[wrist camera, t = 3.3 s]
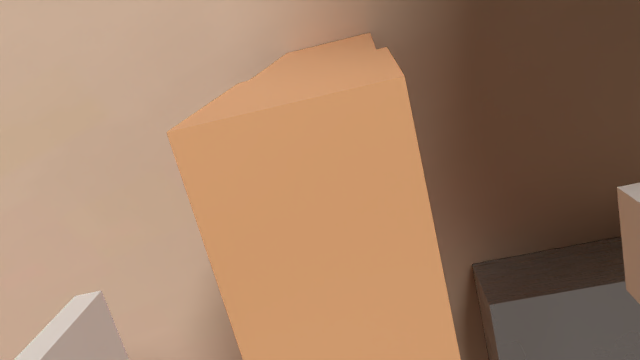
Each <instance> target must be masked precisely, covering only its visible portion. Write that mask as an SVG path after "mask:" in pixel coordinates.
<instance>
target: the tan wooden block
mask: <svg viewBox="0 0 640 360" xmlns="http://www.w3.org/2000/svg"><path fill="white" fill-rule="evenodd" d="M167 135H168V138H169V141H170V144H171V147H172V150H173V153H174V156H175V159H176V162H177V165H178V168H179V171H180V174H181V177H182V180H183V183H184V186H185V189H186V192H187V195H188V198H189V201H190V204H191V207H192V210H193V213H194V216H195V219H196V222H197V225H198V228H199V231H200V234H201V237H202V240H203V243H204V246H205V248H206V251H207V254H208V257H209V260H210V263H211V266H212V269H213V272H214V275H215V278H216V281H217V284H218V287H219V290H220V293H221V296H222V299H223V302H224V305H225V308H226V311H227V314H228V317H229V320H230V323H231V326H232V329H233V332H234V335H235V338H236V341H237V344H238V347H239V350H240V353H241V356H242V359H243V360H461V358H460V353H459V348H458V343H457V338H456V333H455V328H454V323H453V318H452V313H451V308H450V303H449V298H448V293H447V288H446V283H445V278H444V273H443V268H442V263H441V258H440V252H439V247H438V242H437V237H436V232H435V227H434V222H433V217H432V212H431V207H430V202H429V197H428V192H427V187H426V182H425V177H424V172H423V167H422V162H421V157H420V152H419V146H418V141H417V136H416V131H415V126H414V121H413V116H412V111H411V106H410V101H409V96H408V91H407V86H406V81H405V76H404V74H403V73H402V71H401V69H400V68H399V66H398V64H397V63H396V61H395V59H394V58H393V56H392V54H391V53H390V51H389V50H388V48H387V47H385V48H380V49H376V48H375V45H374V42H373V40H372V37H371V34H370V33H366V34H362V35H358V36H354V37H350V38H346V39H342V40H338V41H334V42H330V43H326V44H322V45H318V46H314V47H310V48H306V49H302V50H298V51H294V52H290V53H286V54H285V55H284V56H282V57H281V58H280V59H278V60H277V61H275V62H274V63H273V64H271V65H270V66H268V67H267V68H266V69H264V70H263V71H262V72H260V73H259V74H257V75H256V76H255V77H253V78H252V79H250V80H249V81H245V82H241V83H238V84H237V85H235V86H234V87H232V88H231V89H229V90H228V91H226V92H225V93H223V94H222V95H220V96H219V97H218V98H216V99H215V100H213V101H212V102H210V103H209V104H207V105H206V106H204V107H203V108H201V109H200V110H198V111H197V112H195V113H194V114H193V115H191V116H190V117H188V118H187V119H185V120H184V121H182V122H181V123H179V124H178V125H176V126H175V127H173V128H172V129H170V130H169V131H168V132H167Z"/></svg>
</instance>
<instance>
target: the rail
mask: <svg viewBox="0 0 640 360" xmlns="http://www.w3.org/2000/svg"><path fill="white" fill-rule="evenodd" d="M472 267H473V273H474V278H475V284H476V289H477V295H478V300H479V306H480V312H481V317H482V323H483V328H484V334H485V339H486V345H487V350H488V356H489V360H640V304H639V303H638V302H637V301H636V300H635V299H634V297H633V296H632V295H631V294H630V293H629V292H628V291H627V290H626V282H625V271H624V260H623V249H622V238H621V237H618V238H612V239H607V240H601V241H596V242H590V243H585V244H580V245H574V246H569V247H563V248H558V249H553V250H547V251H542V252H536V253H531V254H525V255H520V256H515V257H509V258H504V259H498V260H493V261H487V262H482V263H477V264H472Z"/></svg>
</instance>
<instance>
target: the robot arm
mask: <svg viewBox="0 0 640 360" xmlns="http://www.w3.org/2000/svg"><path fill="white" fill-rule="evenodd" d="M617 195H618V205H619V216H620V227H621V238H622V249H623V260H624V271H625V282H626V290H627V291H628V292H629V293H630V294H631V295H632V296H633V297H634V299H635V300H636V301H637V302H638V303H639V304H640V183H635V184H630V185H625V186H620V187H617ZM14 360H129V357H128V355H127V352H126V350H125V347H124V345H123V343H122V340H121V338H120V335H119V333H118V330H117V328H116V325H115V323H114V320H113V318H112V315H111V313H110V310H109V308H108V305H107V303H106V300H105V298H104V296H103V293H102V291H97V292H92V293H87V294H82V295H77V296H75V297H74V298H73V299H72V300H71V301H70V302H69V303H68V304H67V305H66V306H65V307H64V308H63V309H62V310H61V311H60V312H59V313H58V314H57V315H56V316H55V317H54V318H53V319H52V320H51V321H50V323H49V324H48V325H47V326H46V327H45V328H44V329H43V330H42V331H41V332H40V333H39V334H38V335H37V336H36V337H35V338H34V339H33V340H32V341H31V342H30V343H29V344H28V345H27V346H26V348H25V349H24V350H23V351H22V352H21V353H20V354H19V355H18V356H17V357H16V358H15V359H14Z"/></svg>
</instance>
